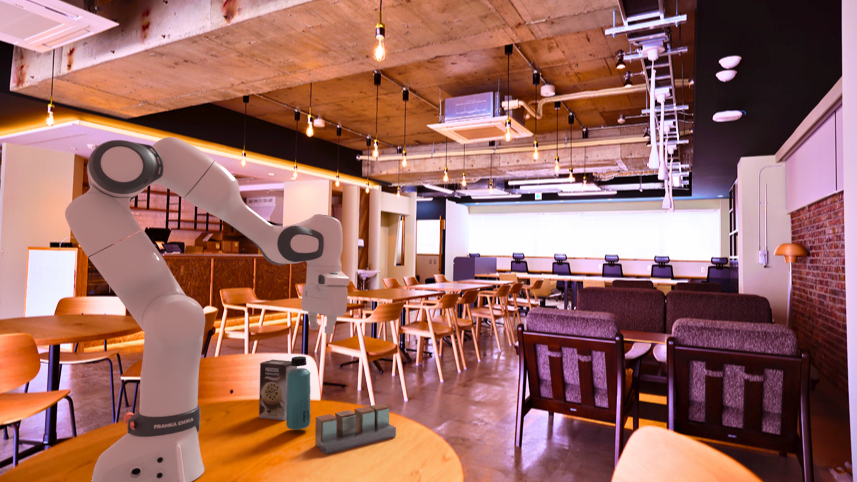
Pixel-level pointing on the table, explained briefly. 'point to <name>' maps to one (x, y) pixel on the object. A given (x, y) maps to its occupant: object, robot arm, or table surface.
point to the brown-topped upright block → (345, 423)
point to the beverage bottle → (298, 395)
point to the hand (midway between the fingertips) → (321, 331)
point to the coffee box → (274, 389)
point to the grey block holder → (368, 429)
